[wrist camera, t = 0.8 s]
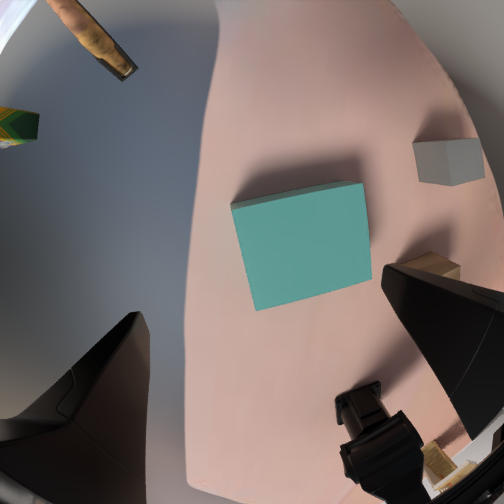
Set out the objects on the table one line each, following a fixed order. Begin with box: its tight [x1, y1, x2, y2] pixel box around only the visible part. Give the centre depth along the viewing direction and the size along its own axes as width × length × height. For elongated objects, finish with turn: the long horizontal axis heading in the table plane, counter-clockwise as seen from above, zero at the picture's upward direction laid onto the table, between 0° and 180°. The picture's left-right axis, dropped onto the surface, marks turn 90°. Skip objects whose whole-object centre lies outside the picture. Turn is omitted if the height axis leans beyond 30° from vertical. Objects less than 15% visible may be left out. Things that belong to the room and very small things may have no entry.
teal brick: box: [230, 181, 372, 311], centre depth 22 cm, size 8×10×4 cm
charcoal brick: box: [412, 138, 485, 186], centre depth 20 cm, size 4×6×5 cm, turn 105°
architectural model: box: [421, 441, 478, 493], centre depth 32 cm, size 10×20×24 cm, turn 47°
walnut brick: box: [400, 252, 460, 281], centre depth 24 cm, size 4×6×5 cm, turn 105°
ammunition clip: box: [46, 0, 138, 82], centre depth 11 cm, size 11×2×12 cm, turn 37°
